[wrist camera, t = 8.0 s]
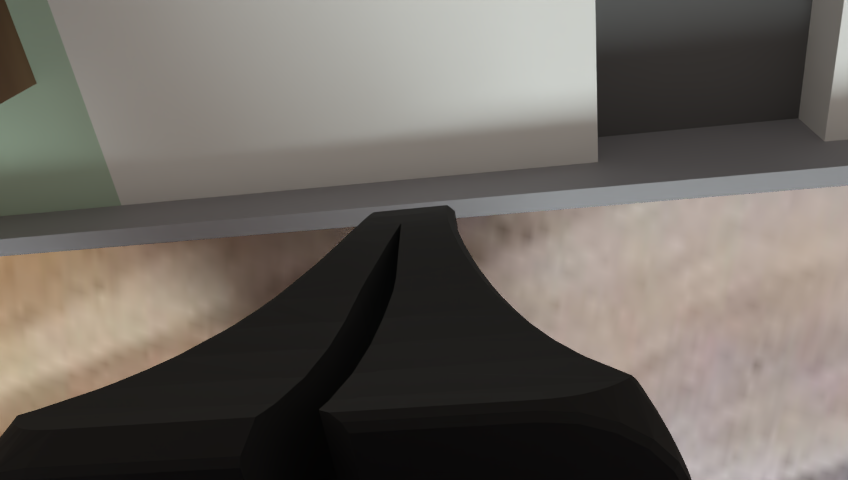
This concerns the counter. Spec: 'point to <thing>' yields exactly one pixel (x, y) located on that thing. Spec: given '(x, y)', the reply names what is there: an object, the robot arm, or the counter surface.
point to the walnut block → (12, 59)
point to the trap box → (405, 111)
